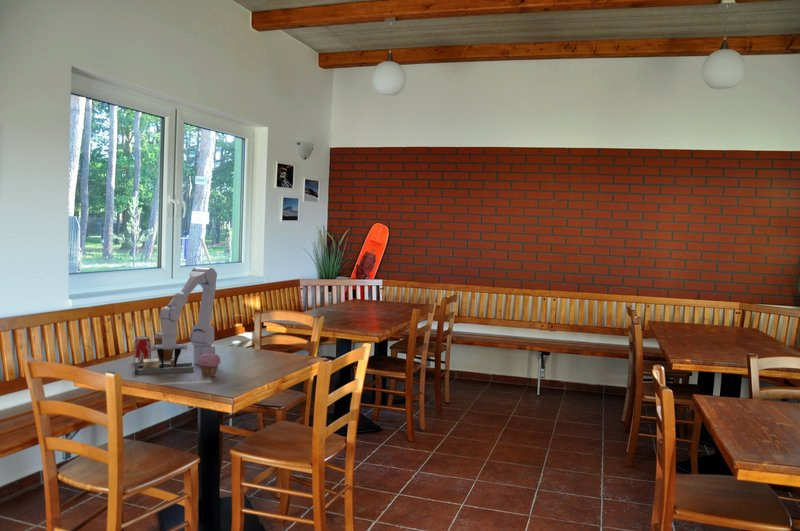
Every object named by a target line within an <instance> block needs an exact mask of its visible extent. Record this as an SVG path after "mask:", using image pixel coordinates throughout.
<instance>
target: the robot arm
mask: <svg viewBox="0 0 800 531" xmlns="http://www.w3.org/2000/svg"><path fill="white" fill-rule="evenodd" d="M217 277H218V273H217V272H216V270H215V269H214V268H213V267H199V266H194V267H193V268H192V269H191V271H190V272H189V278H188V280H187V281H186V282H185V285H184V286H183V287H182V289H181V291H180V292H177V293H174V294H173V297H172V299H171V300H170V301H169V302H168V304H167V306H164V307H162V308H161V310H160V313H159V318H160V320H161V324H162V327H161V328H162V329H161V330H162V331H161V332H162V345H156V344H151V352H152V351H156V352H158V353H157V356H158V355H159V357H160V359H159V361H160V362H161V363H160V364H162V367H164V364H165V363H164V361H165V360H164V359H163V357H164V351H163V350H173V356H174V358H173V359H174V367H176V363H178V359H179V357H180V354H181V352H182V350H188V344H187V343H186V344H179V343H178V344H177V332H178V331H177V330H178V328H177V327H178V320H179V319H180V317H181V313H182V309H183V308H184V307H185V305H186V304H187V302H188V299H189V298H188V297H189V295H190V294H192V292H193V291H194V290H195V289H196V288H197V286H198V285H199V286H201V287H202V294H201V299H200V306H199V311H198V312H199V313H198V319H197V323H196V324H194V325H193V326H192V329H191V332H190V334H189V341H190V342H191V343H192V345H193V364H195V365H199V359H200V357H202V355H203V354H205V353H213V354H216V345H215V344H213V343H214V342H215V329H214V327H213V326H212V325H211V323H212V322H211V320H212V314H213V309H214V303H215V302H214V301H215V295H216V287H217ZM165 348H166V349H165Z"/></svg>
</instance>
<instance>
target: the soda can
mask: <svg viewBox="0 0 800 531" xmlns="http://www.w3.org/2000/svg"><path fill="white" fill-rule="evenodd" d="M151 345H152V341H151V339H150V336H136V337H135V340H134V342H133V363H134V364H135V358H138V365H144V359H152V351H151Z"/></svg>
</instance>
